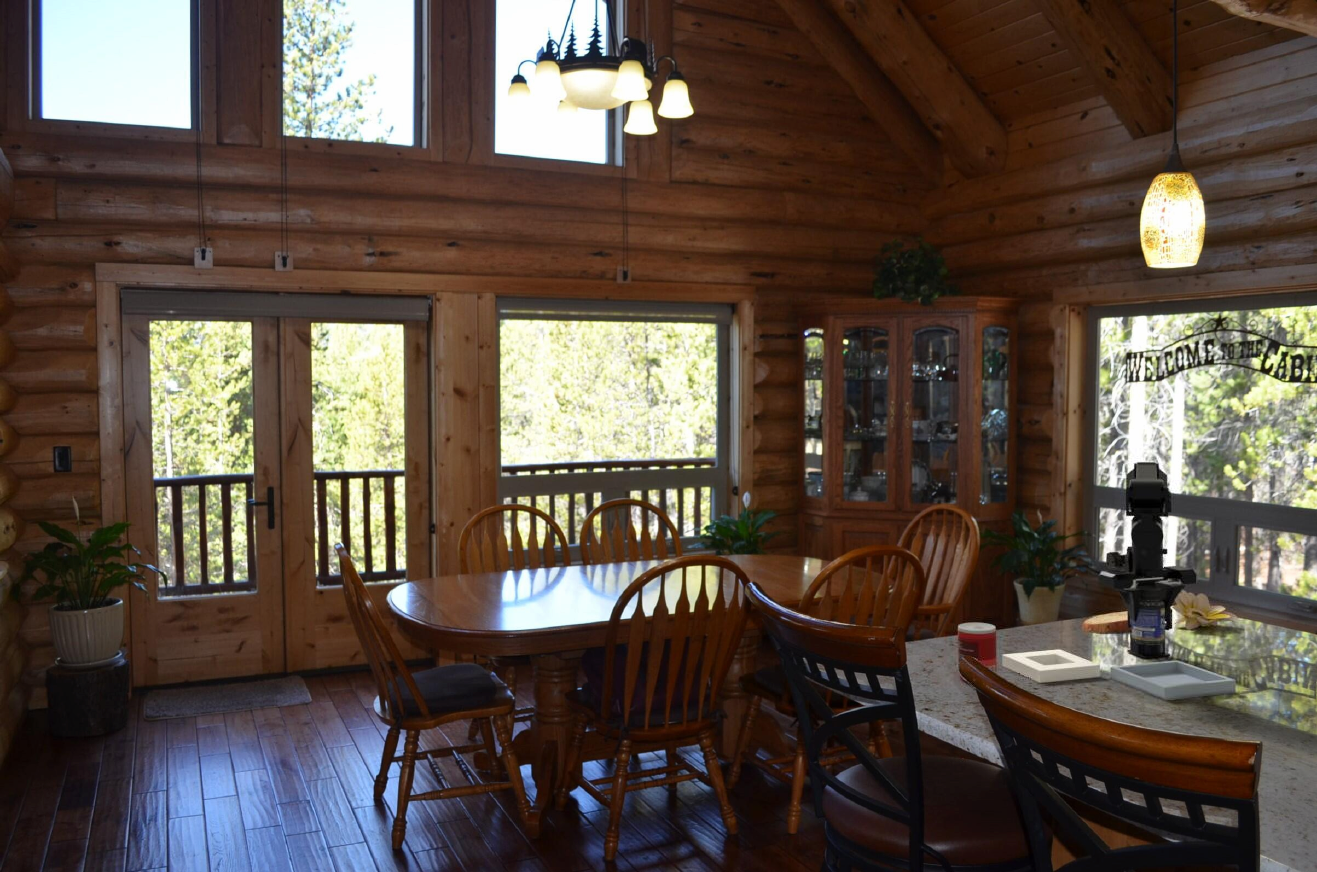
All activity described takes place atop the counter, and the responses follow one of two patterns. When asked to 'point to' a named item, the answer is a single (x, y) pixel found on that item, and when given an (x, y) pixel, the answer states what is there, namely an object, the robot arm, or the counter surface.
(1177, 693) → the tray
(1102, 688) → the counter surface
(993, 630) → the canned food
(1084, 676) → the white square frame
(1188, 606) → the decorative flower
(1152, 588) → the pill bottle
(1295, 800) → the counter surface
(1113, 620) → the slice of bread
